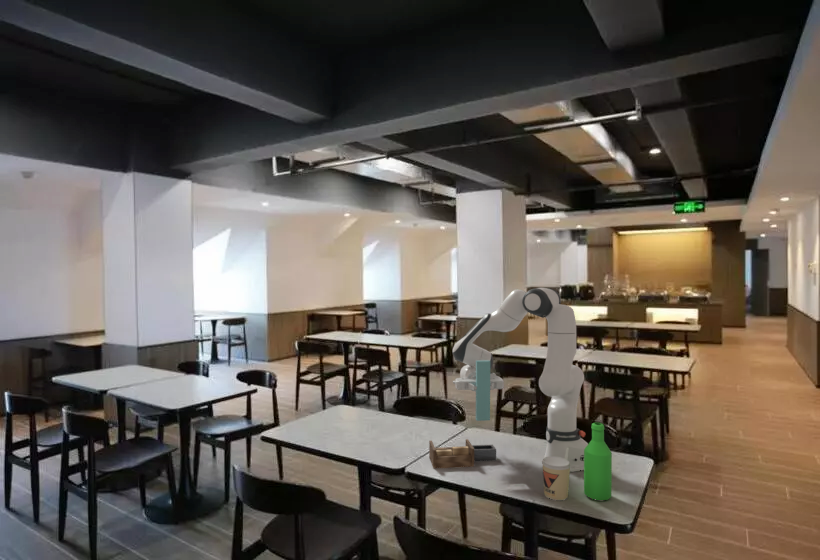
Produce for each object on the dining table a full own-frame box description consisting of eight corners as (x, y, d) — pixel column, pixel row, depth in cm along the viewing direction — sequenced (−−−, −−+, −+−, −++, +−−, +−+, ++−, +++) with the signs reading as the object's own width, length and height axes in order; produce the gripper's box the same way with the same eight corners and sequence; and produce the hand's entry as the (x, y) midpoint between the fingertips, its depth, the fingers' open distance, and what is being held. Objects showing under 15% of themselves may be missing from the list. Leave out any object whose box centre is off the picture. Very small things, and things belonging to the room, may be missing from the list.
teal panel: (488, 419, 200) (489, 360, 200) (490, 420, 198) (490, 361, 198) (475, 419, 199) (475, 360, 199) (476, 420, 198) (476, 361, 197)
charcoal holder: (492, 459, 202) (492, 444, 202) (496, 464, 197) (496, 449, 197) (469, 459, 201) (469, 445, 201) (473, 465, 196) (473, 450, 196)
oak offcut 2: (467, 462, 195) (467, 446, 194) (468, 464, 193) (468, 447, 193) (452, 463, 194) (452, 446, 194) (453, 464, 192) (453, 448, 192)
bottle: (586, 488, 174) (587, 418, 174) (613, 494, 170) (613, 422, 170) (581, 498, 167) (582, 425, 166) (608, 504, 162) (609, 429, 162)
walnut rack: (467, 459, 201) (467, 439, 201) (474, 470, 190) (474, 448, 190) (429, 461, 200) (429, 440, 200) (433, 472, 189) (433, 450, 189)
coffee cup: (536, 492, 171) (536, 458, 171) (557, 487, 175) (557, 454, 175) (554, 504, 163) (554, 468, 162) (576, 498, 167) (576, 463, 166)
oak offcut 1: (451, 463, 194) (451, 449, 194) (451, 464, 192) (451, 451, 192) (436, 463, 193) (436, 449, 193) (436, 465, 191) (436, 451, 191)
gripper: (451, 373, 210) (458, 380, 197) (498, 372, 212) (507, 379, 199) (451, 388, 210) (458, 396, 197) (498, 387, 212) (507, 395, 199)
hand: (483, 388), depth 198 cm, fingers closed on teal panel, 5 cm apart
